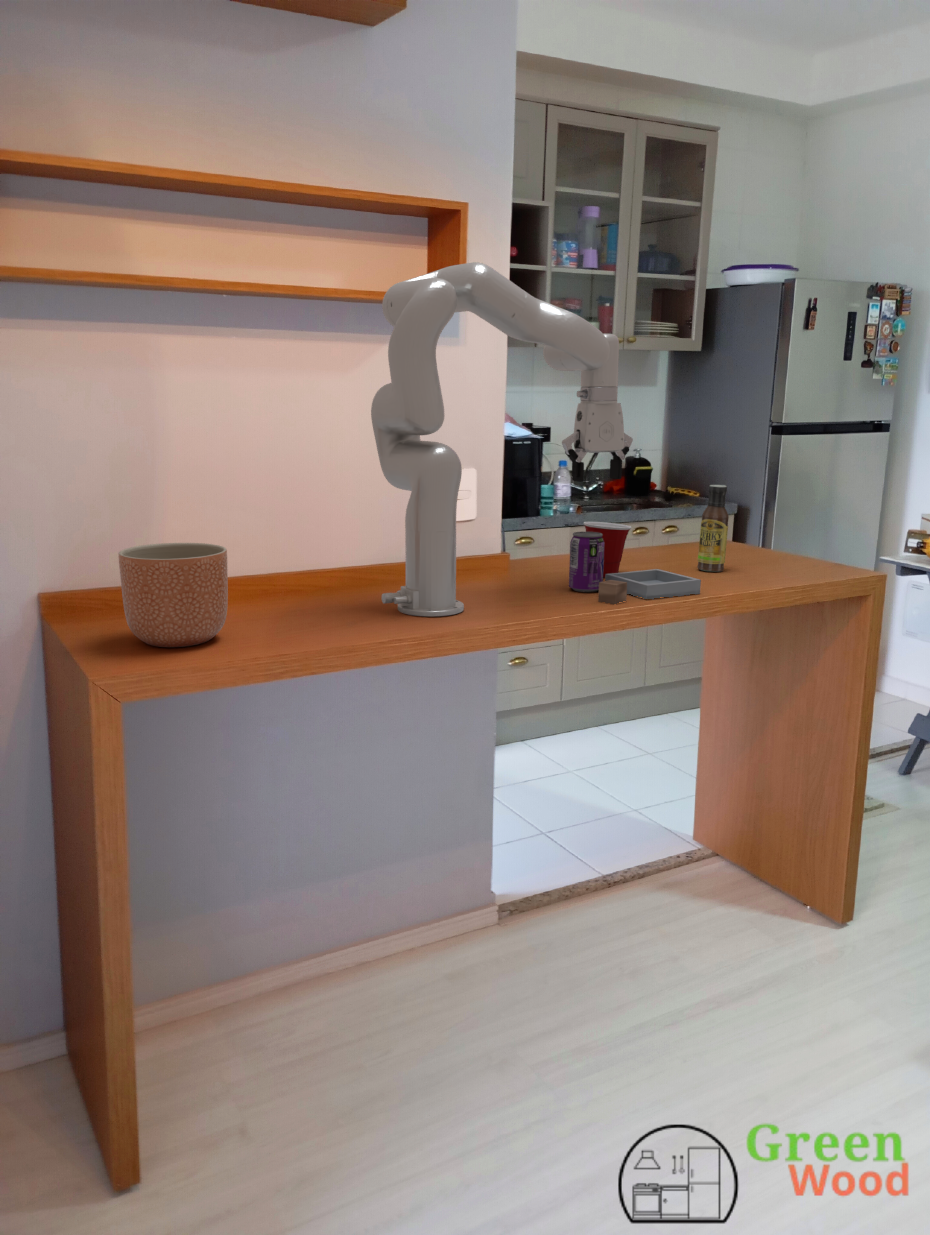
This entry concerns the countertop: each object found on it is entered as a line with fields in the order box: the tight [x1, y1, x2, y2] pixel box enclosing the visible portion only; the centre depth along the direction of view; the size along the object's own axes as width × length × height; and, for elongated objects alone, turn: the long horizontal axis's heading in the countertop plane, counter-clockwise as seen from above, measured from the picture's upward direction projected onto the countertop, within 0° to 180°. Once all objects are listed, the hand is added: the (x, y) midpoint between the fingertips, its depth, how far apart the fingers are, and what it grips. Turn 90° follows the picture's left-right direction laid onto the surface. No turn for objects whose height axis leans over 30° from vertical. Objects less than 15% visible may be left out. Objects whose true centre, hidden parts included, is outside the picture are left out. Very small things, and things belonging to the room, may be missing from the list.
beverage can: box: [568, 531, 604, 593], centre depth 211 cm, size 7×7×12 cm
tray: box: [604, 568, 702, 600], centre depth 211 cm, size 14×14×3 cm
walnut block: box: [597, 580, 627, 605], centre depth 200 cm, size 4×4×4 cm
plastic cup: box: [583, 521, 632, 578], centre depth 227 cm, size 11×11×12 cm
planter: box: [118, 542, 229, 648], centre depth 166 cm, size 17×17×15 cm
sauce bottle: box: [697, 484, 730, 573], centre depth 234 cm, size 6×6×20 cm
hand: (596, 479), depth 210 cm, fingers open, 9 cm apart
